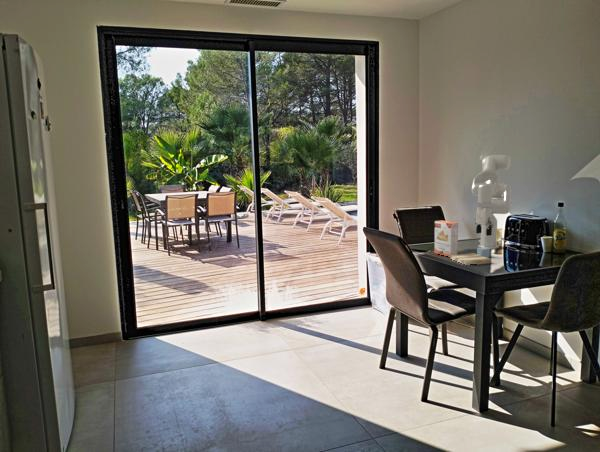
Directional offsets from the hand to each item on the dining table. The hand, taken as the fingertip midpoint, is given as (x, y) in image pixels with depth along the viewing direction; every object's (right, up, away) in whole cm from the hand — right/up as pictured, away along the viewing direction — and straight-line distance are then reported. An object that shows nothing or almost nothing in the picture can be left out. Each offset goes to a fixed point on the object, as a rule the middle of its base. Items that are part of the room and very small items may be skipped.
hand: (483, 234), depth 286 cm
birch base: (-11, -15, -8) cm, 21 cm away
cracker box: (-20, -13, +8) cm, 25 cm away
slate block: (+1, -14, +3) cm, 14 cm away
